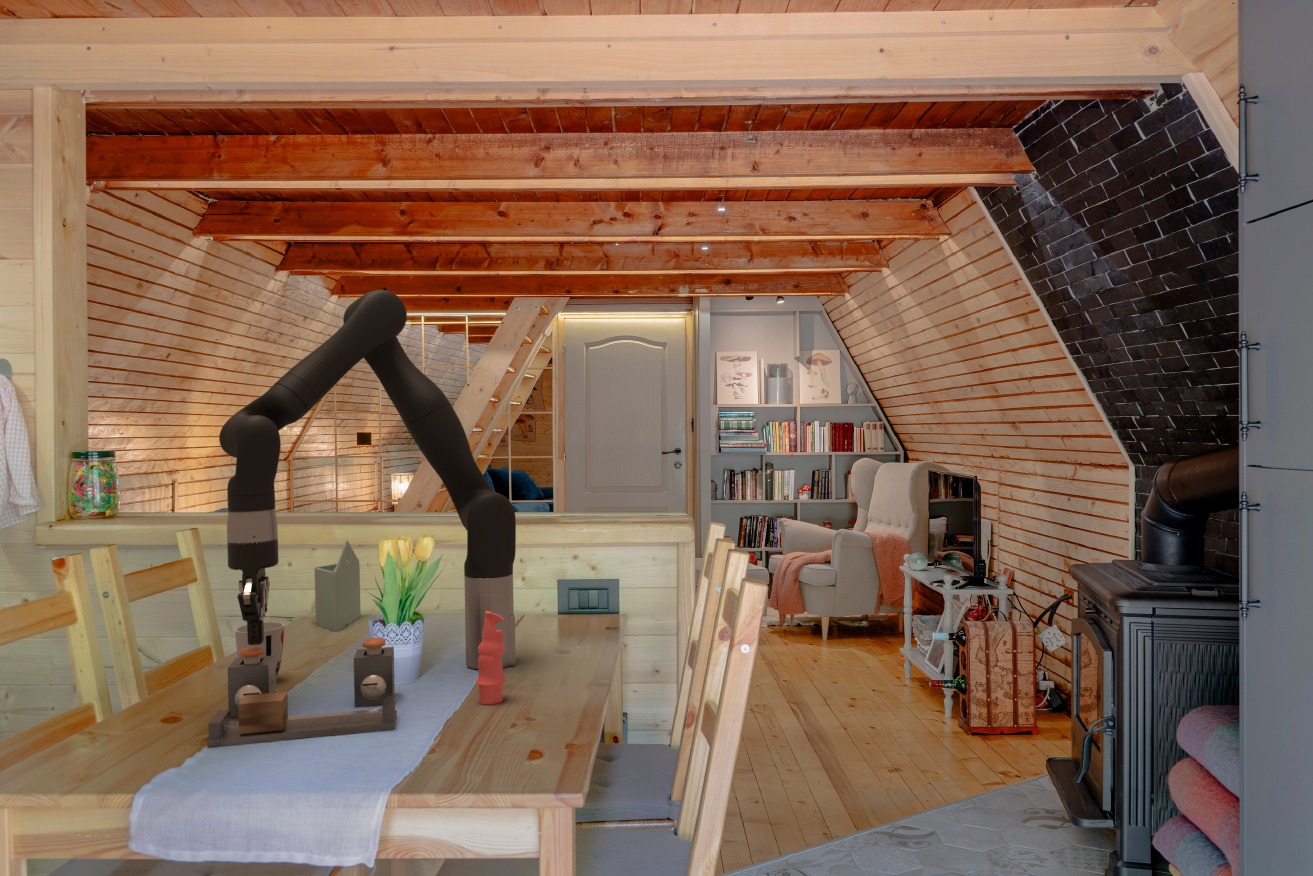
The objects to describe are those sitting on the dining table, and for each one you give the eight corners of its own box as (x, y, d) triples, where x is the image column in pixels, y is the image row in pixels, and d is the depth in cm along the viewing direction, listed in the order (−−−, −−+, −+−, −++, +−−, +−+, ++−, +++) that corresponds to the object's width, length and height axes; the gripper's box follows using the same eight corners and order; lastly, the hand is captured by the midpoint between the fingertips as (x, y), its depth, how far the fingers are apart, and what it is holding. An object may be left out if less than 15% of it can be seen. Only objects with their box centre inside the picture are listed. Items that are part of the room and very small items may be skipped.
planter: (328, 617, 212) (326, 536, 212) (361, 616, 212) (359, 535, 212) (302, 633, 196) (300, 545, 196) (337, 632, 196) (335, 544, 196)
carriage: (288, 720, 133) (287, 691, 133) (283, 730, 129) (282, 700, 129) (245, 724, 131) (245, 695, 131) (239, 734, 127) (238, 704, 127)
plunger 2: (386, 661, 148) (385, 637, 148) (385, 667, 145) (384, 642, 145) (364, 663, 148) (363, 638, 147) (362, 669, 144) (361, 643, 144)
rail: (396, 716, 138) (396, 695, 137) (394, 729, 132) (394, 707, 132) (217, 733, 131) (217, 710, 131) (207, 747, 125) (206, 723, 125)
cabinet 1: (276, 703, 145) (275, 655, 145) (268, 715, 139) (267, 665, 139) (237, 706, 144) (236, 658, 144) (228, 718, 138) (226, 668, 138)
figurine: (512, 697, 147) (511, 608, 146) (497, 706, 142) (496, 615, 142) (486, 694, 148) (484, 607, 148) (470, 703, 143) (468, 613, 143)
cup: (266, 689, 153) (265, 633, 153) (226, 687, 155) (224, 631, 154) (294, 676, 161) (293, 622, 161) (255, 674, 163) (254, 621, 162)
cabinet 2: (394, 693, 150) (393, 646, 150) (392, 704, 144) (391, 656, 144) (358, 696, 148) (357, 649, 148) (354, 707, 142) (353, 659, 142)
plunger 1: (266, 670, 144) (265, 645, 144) (262, 676, 140) (261, 651, 140) (242, 672, 143) (242, 647, 143) (237, 678, 139) (237, 652, 139)
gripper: (269, 541, 136) (273, 651, 137) (284, 532, 149) (287, 632, 149) (217, 544, 134) (221, 656, 135) (236, 534, 147) (240, 636, 148)
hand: (256, 643), depth 142 cm, fingers closed
